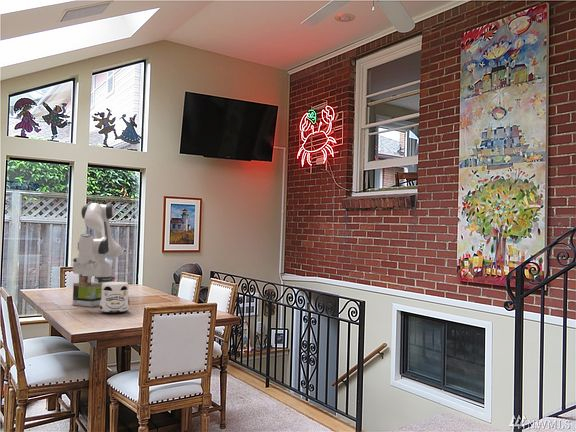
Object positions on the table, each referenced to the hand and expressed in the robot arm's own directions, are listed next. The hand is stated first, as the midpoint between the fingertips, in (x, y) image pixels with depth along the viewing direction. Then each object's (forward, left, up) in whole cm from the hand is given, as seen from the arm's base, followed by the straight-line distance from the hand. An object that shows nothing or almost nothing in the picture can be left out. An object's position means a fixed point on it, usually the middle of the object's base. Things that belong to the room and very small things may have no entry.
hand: (85, 282), depth 307 cm
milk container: (-7, +20, -18) cm, 28 cm away
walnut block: (0, 0, -2) cm, 2 cm away
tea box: (-12, -13, -18) cm, 25 cm away
